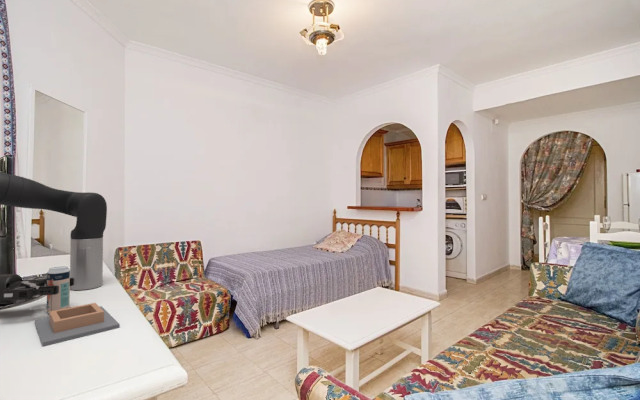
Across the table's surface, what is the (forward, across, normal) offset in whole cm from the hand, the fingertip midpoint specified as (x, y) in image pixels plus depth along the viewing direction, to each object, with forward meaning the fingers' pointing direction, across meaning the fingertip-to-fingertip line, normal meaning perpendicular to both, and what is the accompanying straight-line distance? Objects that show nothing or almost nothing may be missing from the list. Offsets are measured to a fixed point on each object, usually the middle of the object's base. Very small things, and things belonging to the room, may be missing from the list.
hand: (66, 285), depth 86 cm
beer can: (-2, 0, +7) cm, 7 cm away
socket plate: (+7, -12, +7) cm, 16 cm away
